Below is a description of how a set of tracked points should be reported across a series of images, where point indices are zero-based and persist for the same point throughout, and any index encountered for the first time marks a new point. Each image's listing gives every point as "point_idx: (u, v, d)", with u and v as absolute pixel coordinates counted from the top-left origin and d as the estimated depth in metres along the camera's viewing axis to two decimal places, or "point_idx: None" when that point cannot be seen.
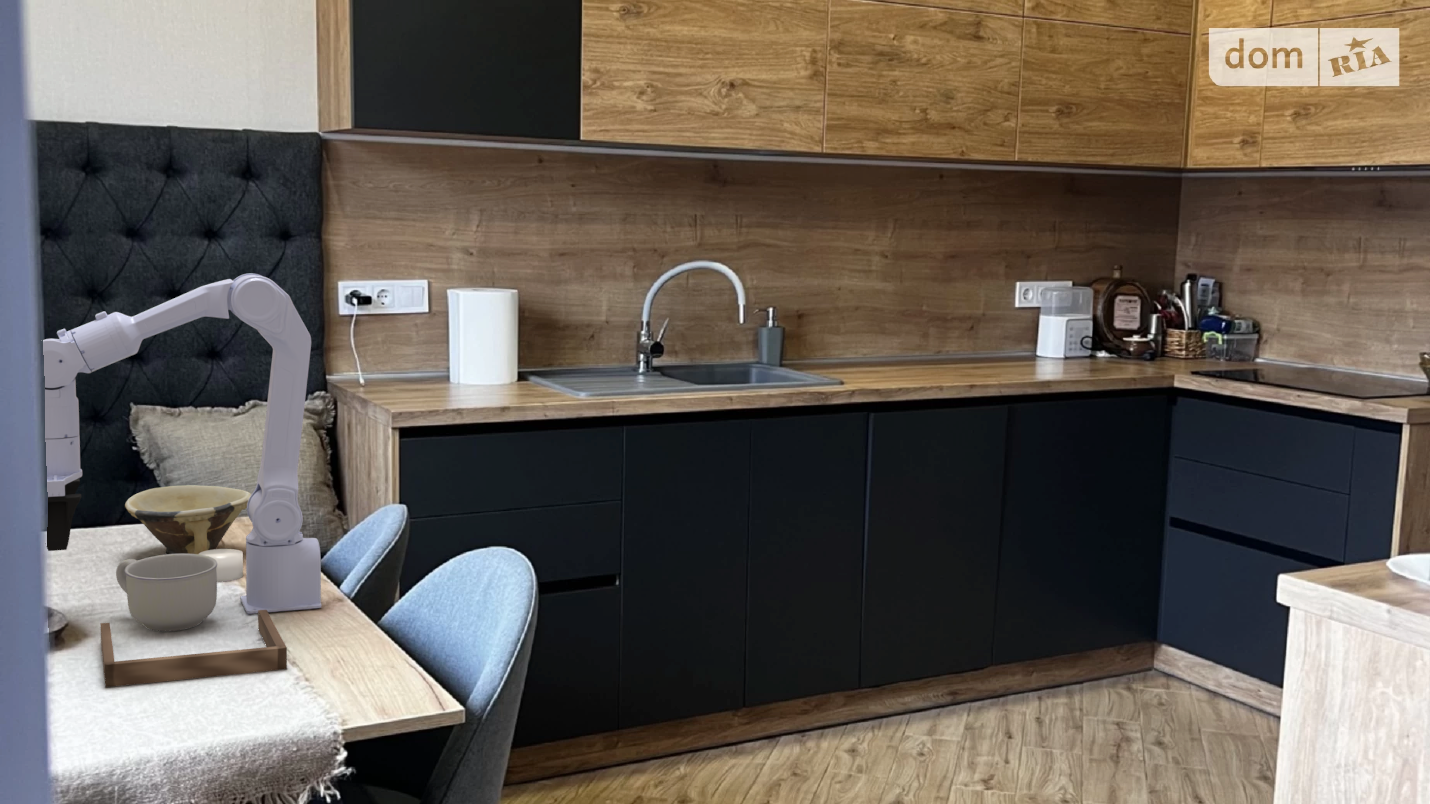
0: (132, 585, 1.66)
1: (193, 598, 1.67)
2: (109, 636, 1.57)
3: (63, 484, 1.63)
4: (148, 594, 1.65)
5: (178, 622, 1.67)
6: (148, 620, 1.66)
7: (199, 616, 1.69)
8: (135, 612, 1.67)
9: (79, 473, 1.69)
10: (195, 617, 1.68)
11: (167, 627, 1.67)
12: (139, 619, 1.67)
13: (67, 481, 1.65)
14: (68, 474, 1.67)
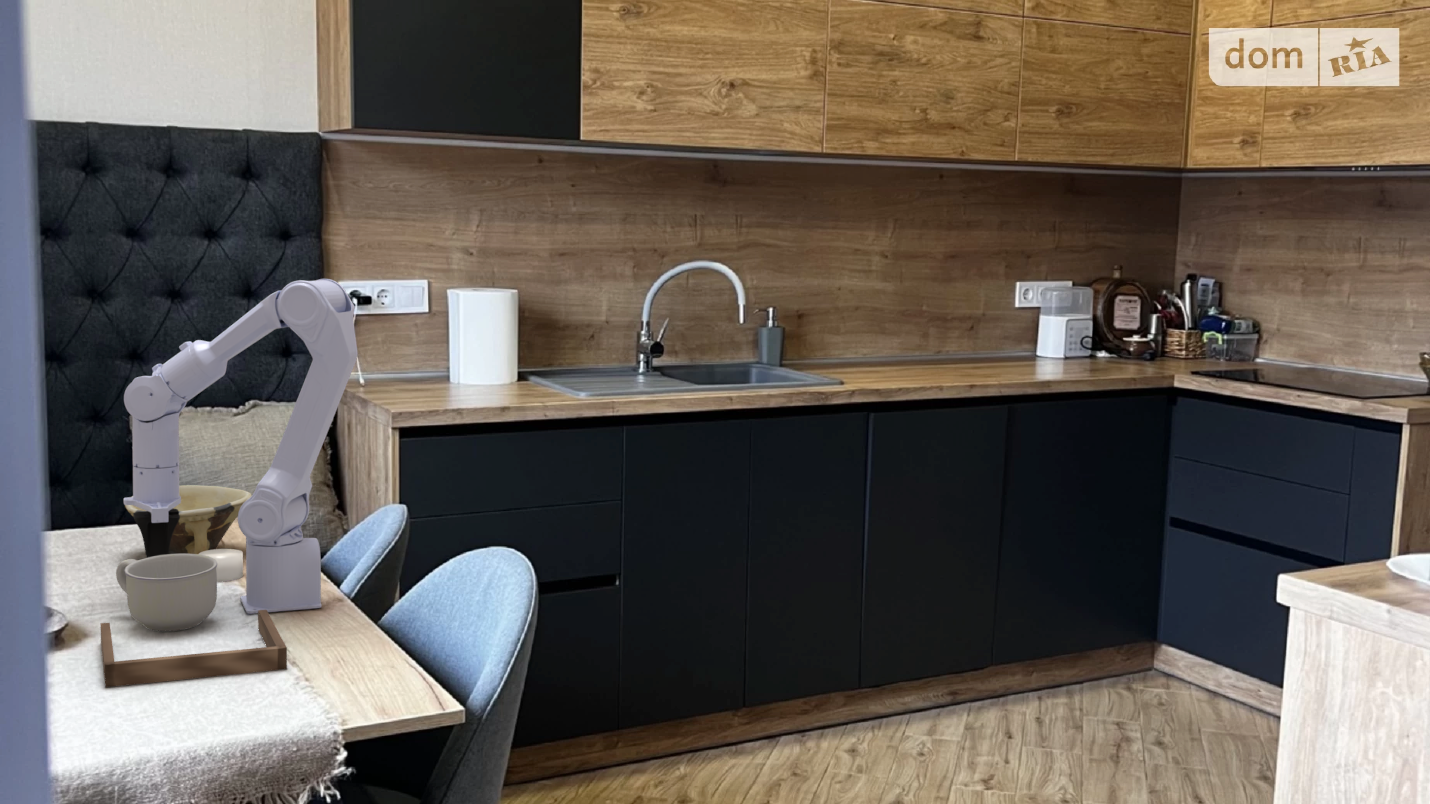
0: (132, 585, 1.66)
1: (193, 598, 1.67)
2: (109, 636, 1.57)
3: (167, 511, 1.75)
4: (148, 594, 1.65)
5: (178, 622, 1.67)
6: (148, 620, 1.66)
7: (199, 616, 1.69)
8: (135, 612, 1.67)
9: (179, 500, 1.81)
10: (195, 617, 1.68)
11: (167, 627, 1.67)
12: (139, 619, 1.67)
13: (169, 508, 1.77)
14: (169, 501, 1.79)
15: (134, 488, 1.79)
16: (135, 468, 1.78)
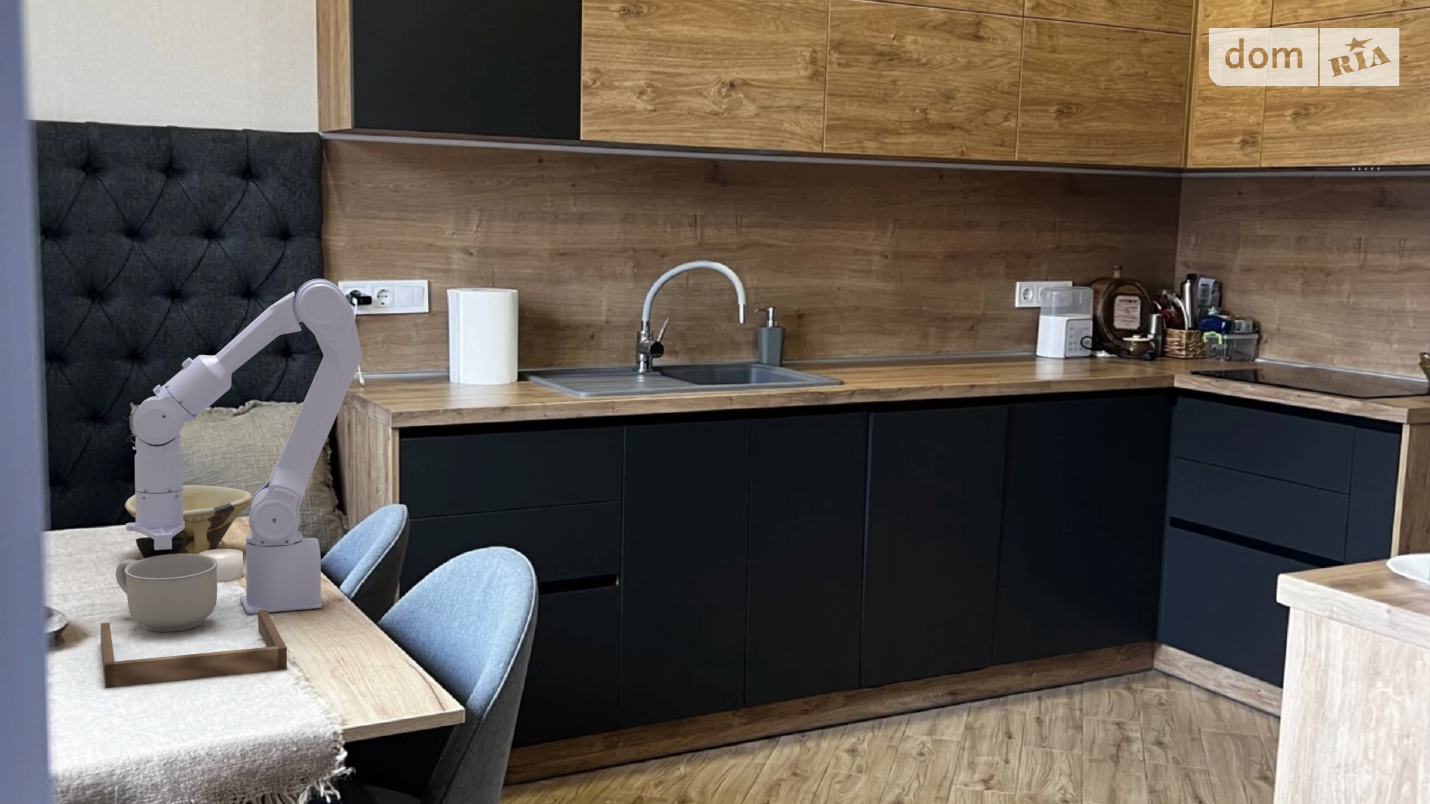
0: (132, 585, 1.66)
1: (193, 598, 1.67)
2: (109, 636, 1.57)
3: (170, 537, 1.70)
4: (149, 594, 1.65)
5: (178, 622, 1.67)
6: (148, 620, 1.66)
7: (199, 616, 1.68)
8: (135, 612, 1.66)
9: (182, 525, 1.76)
10: (195, 617, 1.68)
11: (167, 627, 1.67)
12: (140, 620, 1.67)
13: (173, 534, 1.72)
14: (173, 526, 1.74)
15: (136, 513, 1.74)
16: (137, 493, 1.73)
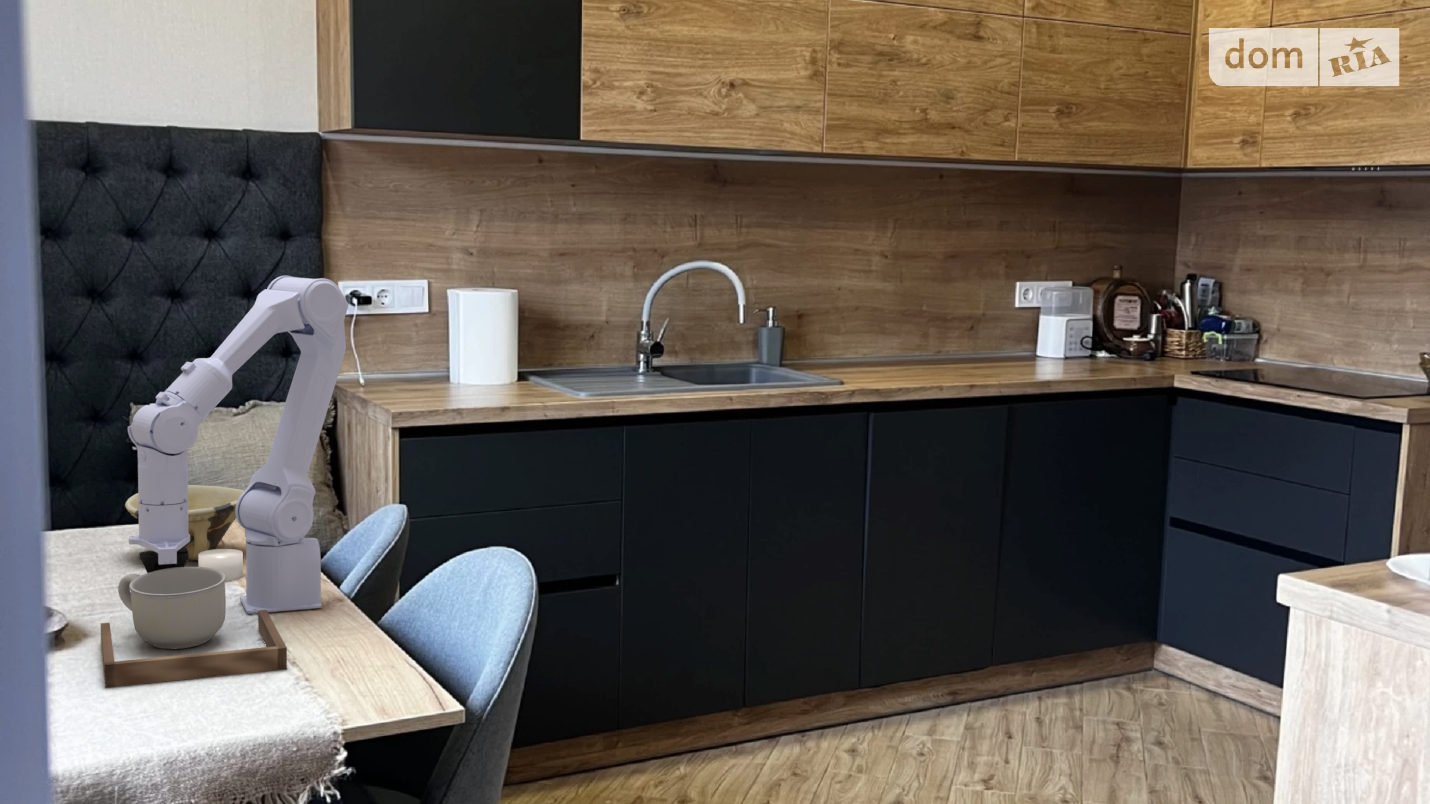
0: (139, 601, 1.59)
1: (203, 614, 1.60)
2: (109, 636, 1.57)
3: (175, 552, 1.62)
4: (156, 611, 1.58)
5: (188, 639, 1.60)
6: (156, 638, 1.59)
7: (209, 632, 1.62)
8: (142, 630, 1.60)
9: (188, 538, 1.68)
10: (205, 633, 1.61)
11: (176, 645, 1.60)
12: (147, 637, 1.60)
13: (178, 548, 1.64)
14: (178, 540, 1.67)
15: (140, 526, 1.67)
16: (141, 505, 1.66)
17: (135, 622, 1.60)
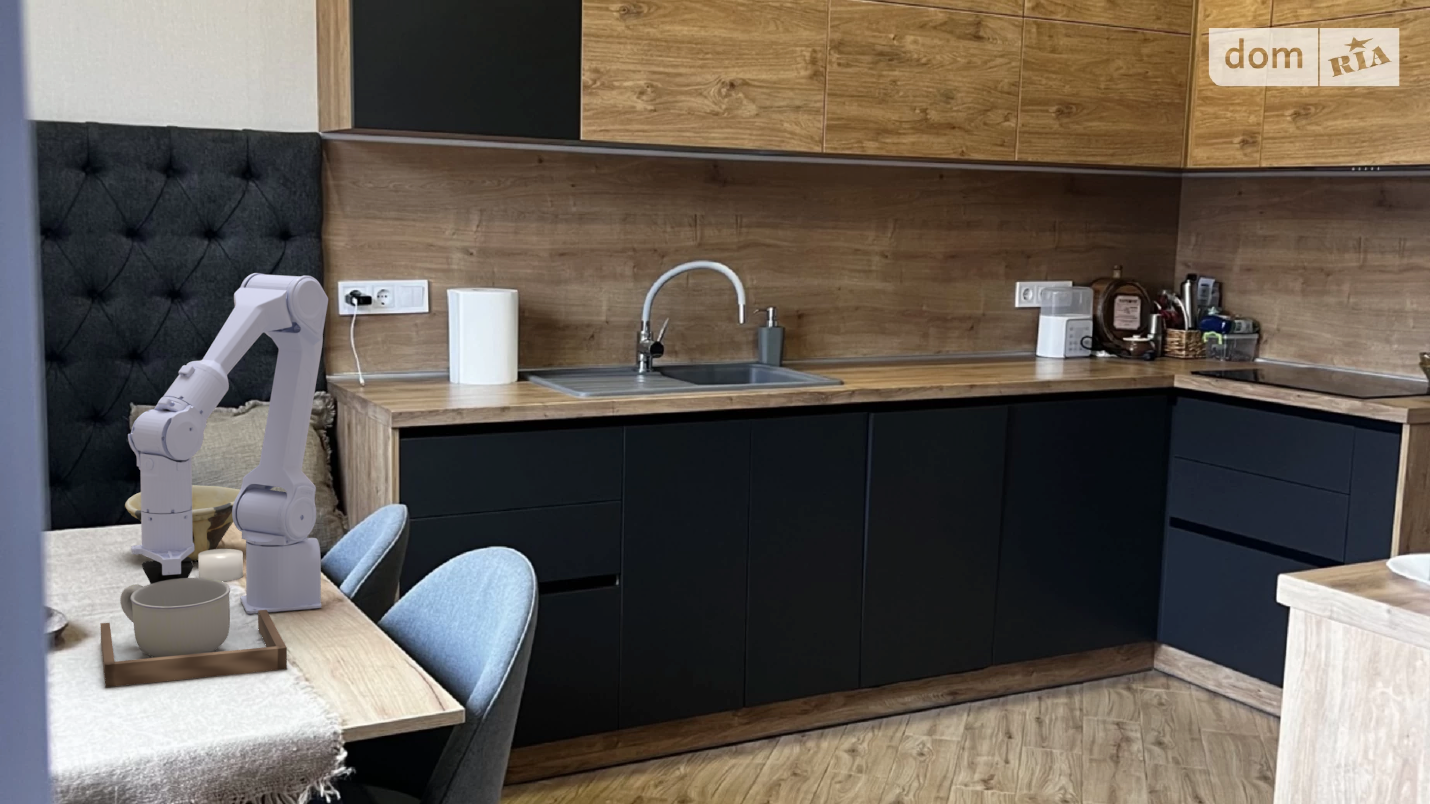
0: (140, 614, 1.54)
1: (205, 627, 1.55)
2: (109, 636, 1.57)
3: (179, 562, 1.58)
4: (157, 624, 1.53)
5: (189, 653, 1.55)
6: (157, 651, 1.54)
7: (212, 646, 1.57)
8: (143, 643, 1.55)
9: (192, 548, 1.64)
10: (208, 647, 1.56)
11: None
12: (147, 651, 1.55)
13: (182, 558, 1.60)
14: (182, 549, 1.62)
15: (143, 535, 1.62)
16: (144, 513, 1.61)
17: (136, 635, 1.55)
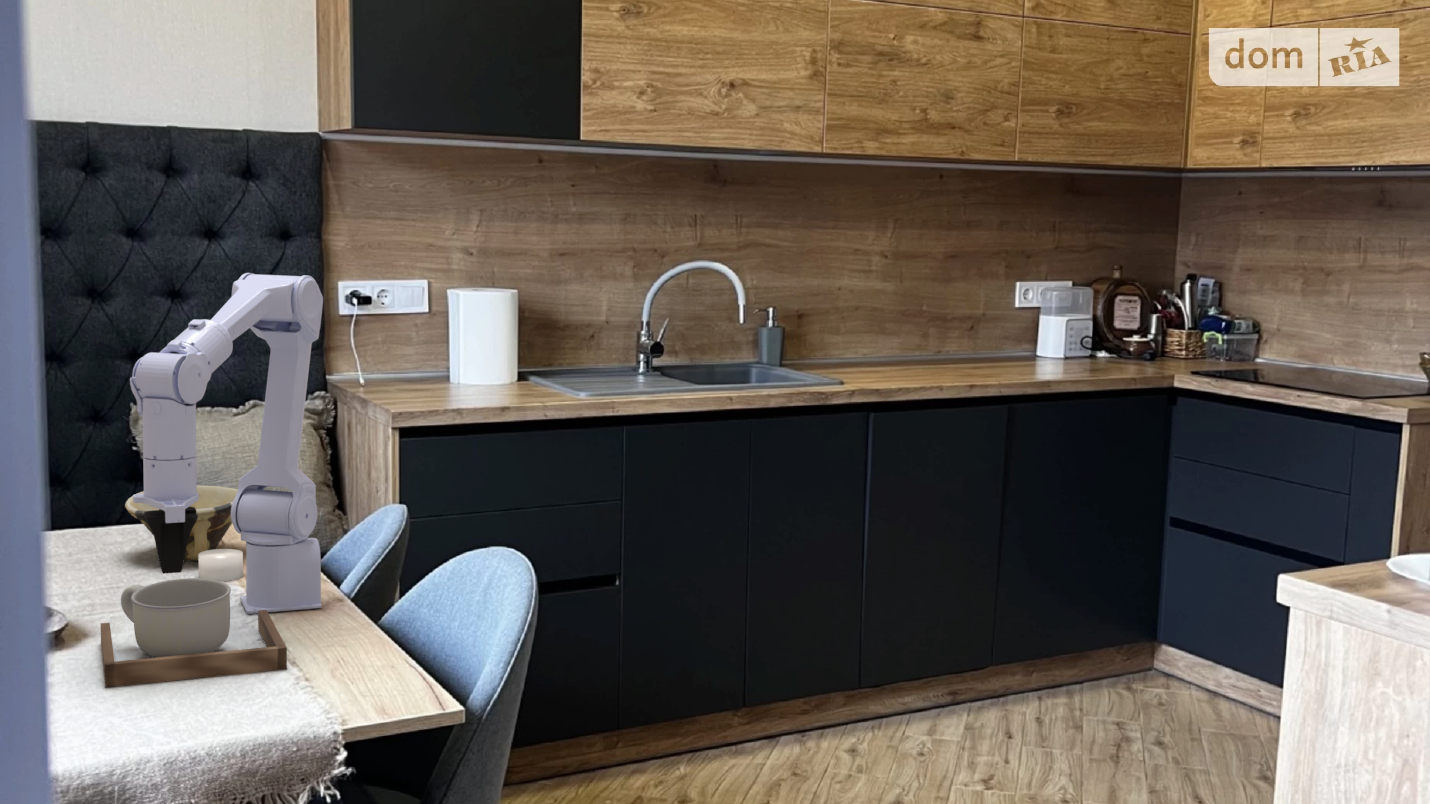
0: (140, 614, 1.54)
1: (206, 627, 1.55)
2: (109, 636, 1.57)
3: (183, 509, 1.51)
4: (158, 624, 1.53)
5: (190, 653, 1.55)
6: (157, 652, 1.54)
7: (212, 646, 1.57)
8: (143, 643, 1.55)
9: (196, 497, 1.57)
10: (208, 648, 1.56)
11: None
12: (148, 651, 1.55)
13: (186, 506, 1.53)
14: (185, 498, 1.56)
15: (145, 483, 1.55)
16: (146, 460, 1.55)
17: (136, 635, 1.56)
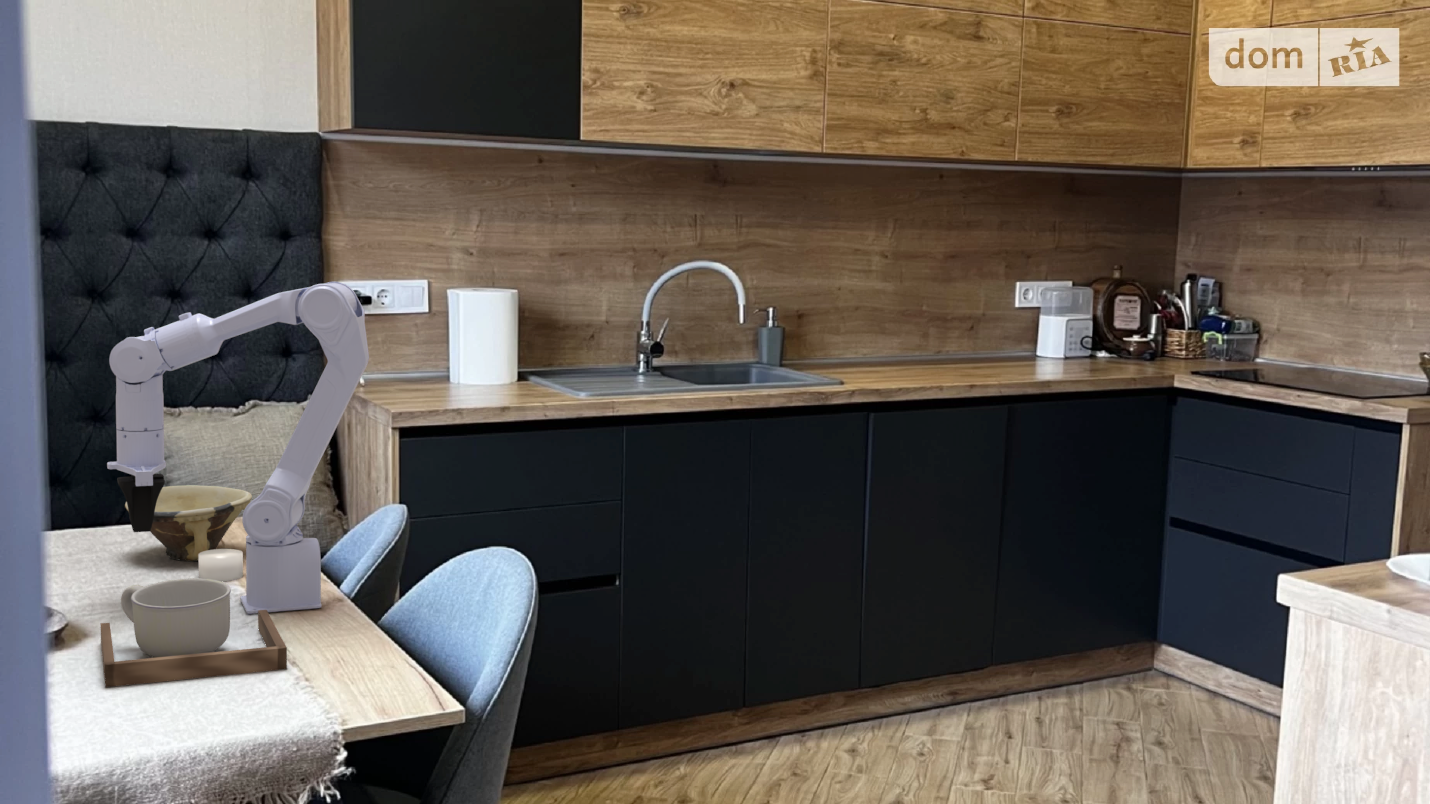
0: (140, 614, 1.54)
1: (206, 627, 1.55)
2: (109, 636, 1.57)
3: (151, 474, 1.71)
4: (158, 624, 1.53)
5: (190, 653, 1.55)
6: (157, 652, 1.54)
7: (212, 646, 1.57)
8: (143, 643, 1.55)
9: (164, 464, 1.77)
10: (208, 648, 1.56)
11: None
12: (148, 651, 1.55)
13: (154, 472, 1.73)
14: (154, 465, 1.76)
15: (118, 452, 1.75)
16: (119, 431, 1.75)
17: (136, 635, 1.56)
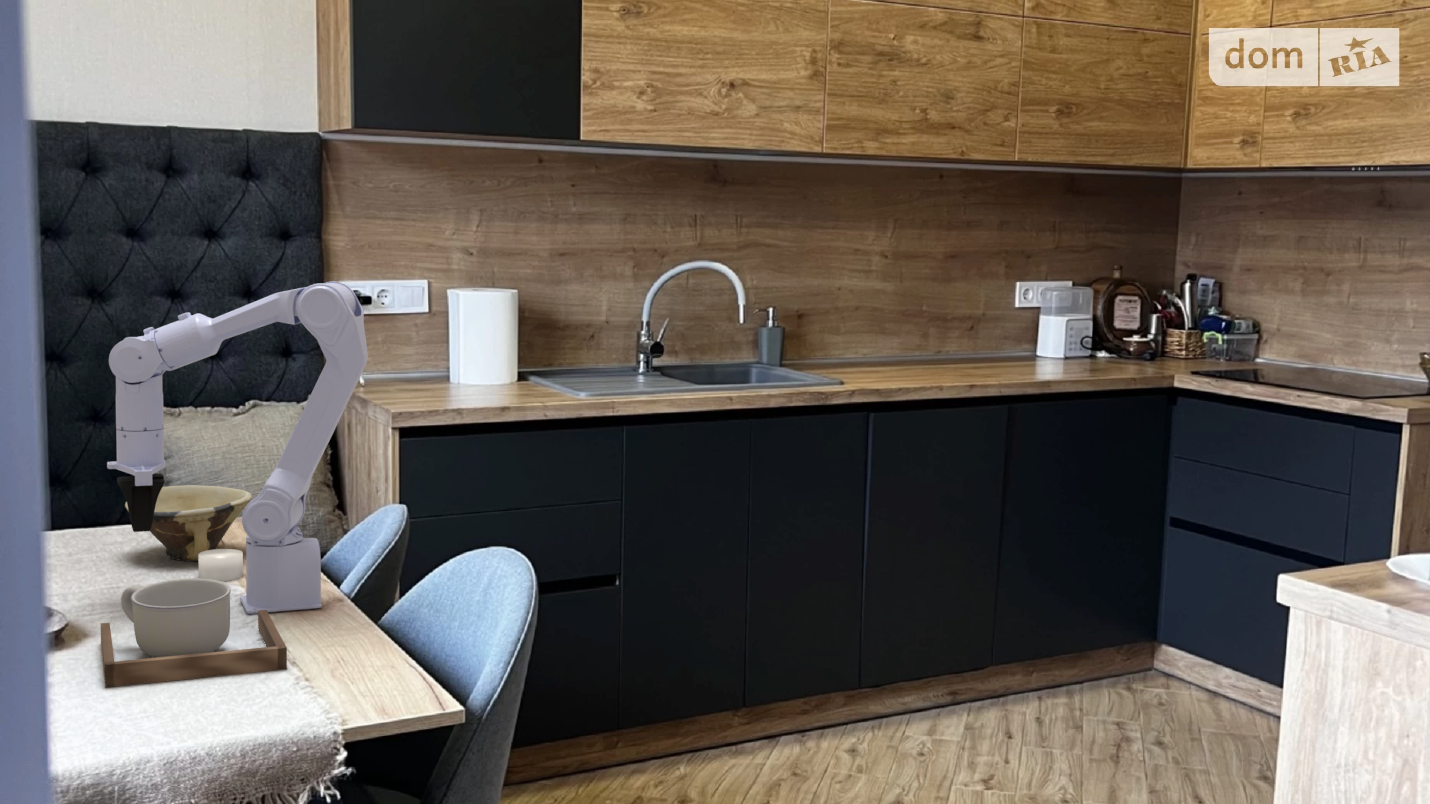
0: (140, 614, 1.54)
1: (206, 627, 1.55)
2: (109, 636, 1.57)
3: (151, 474, 1.72)
4: (158, 624, 1.53)
5: (190, 653, 1.55)
6: (157, 652, 1.54)
7: (212, 646, 1.57)
8: (143, 643, 1.55)
9: (163, 464, 1.78)
10: (208, 648, 1.56)
11: None
12: (148, 651, 1.55)
13: (154, 471, 1.74)
14: (153, 465, 1.76)
15: (118, 452, 1.76)
16: (118, 431, 1.75)
17: (136, 635, 1.56)
